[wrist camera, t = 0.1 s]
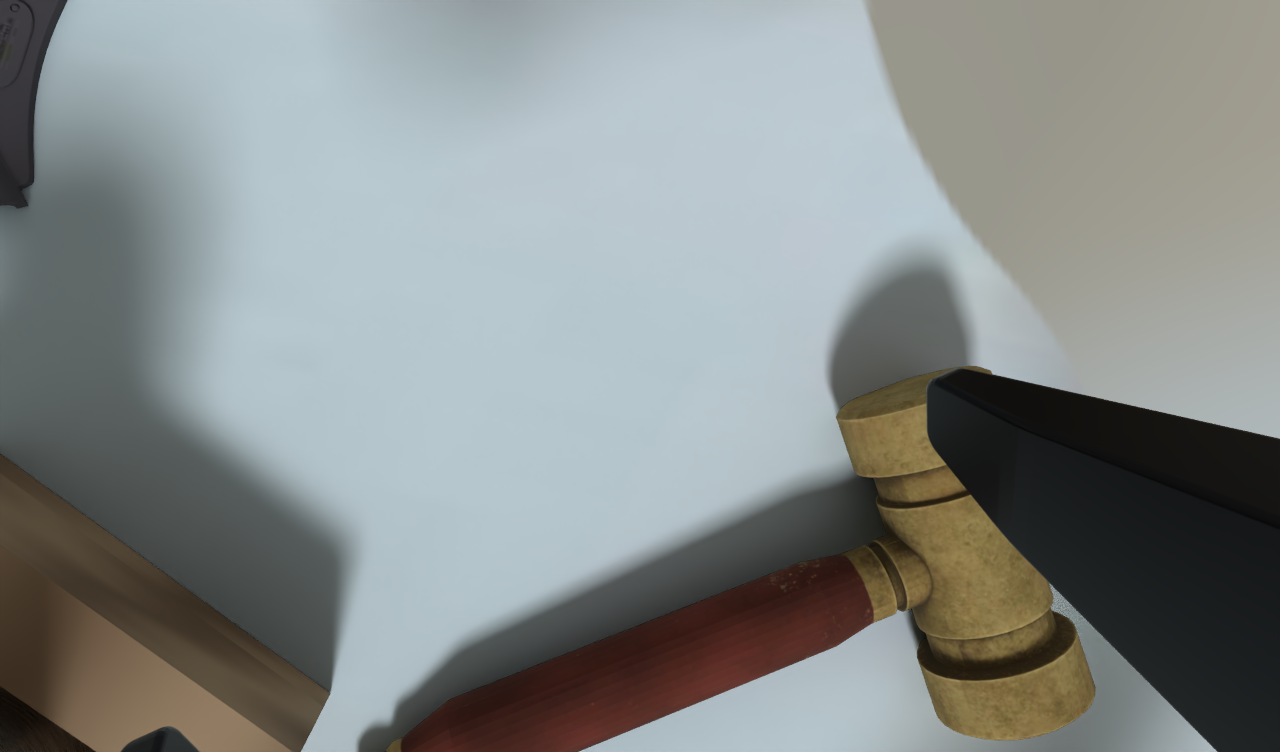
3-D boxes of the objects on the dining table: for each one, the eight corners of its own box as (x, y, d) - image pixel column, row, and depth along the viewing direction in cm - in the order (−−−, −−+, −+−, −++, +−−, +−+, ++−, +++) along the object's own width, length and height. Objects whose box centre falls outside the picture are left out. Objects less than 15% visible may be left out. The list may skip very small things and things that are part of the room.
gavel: (398, 1026, 20) (258, 645, 19) (424, 905, 24) (310, 595, 24) (1134, 701, 22) (1023, 361, 22) (1033, 648, 27) (939, 365, 27)
